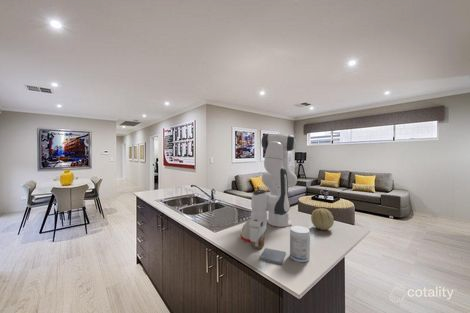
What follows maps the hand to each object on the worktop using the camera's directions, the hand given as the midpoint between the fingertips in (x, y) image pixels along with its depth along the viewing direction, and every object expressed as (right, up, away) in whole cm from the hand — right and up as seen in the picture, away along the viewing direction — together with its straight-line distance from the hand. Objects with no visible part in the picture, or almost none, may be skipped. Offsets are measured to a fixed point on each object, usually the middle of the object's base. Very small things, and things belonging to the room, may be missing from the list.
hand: (258, 243), depth 113 cm
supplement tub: (+19, -2, -12) cm, 23 cm away
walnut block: (0, -2, 0) cm, 2 cm away
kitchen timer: (-2, -2, +12) cm, 12 cm away
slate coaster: (+6, -2, -11) cm, 13 cm away
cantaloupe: (+48, -2, +27) cm, 55 cm away
